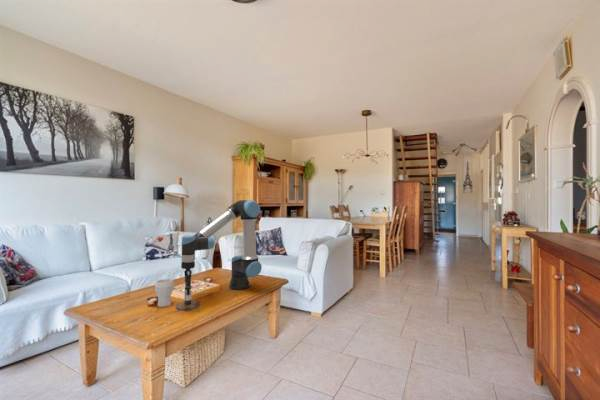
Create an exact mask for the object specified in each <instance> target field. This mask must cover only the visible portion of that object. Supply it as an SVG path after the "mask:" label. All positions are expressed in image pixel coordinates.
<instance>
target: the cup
mask: <svg viewBox="0 0 600 400" xmlns="http://www.w3.org/2000/svg"><path fill="white" fill-rule="evenodd" d="M174 289H175V284H174V279H173V278H172V279H171V278H163V279H162V278H161V279H158V280H156V281H155V284H154V291H155V294H156V295H157V300H158V301H157V307H159V308H160V307H161V308H163V307H164V308H165V307H169V306H171V305H172V300H171V296H172V293H173V291H174Z"/></svg>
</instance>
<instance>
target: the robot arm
mask: <svg viewBox="0 0 600 400" xmlns="http://www.w3.org/2000/svg"><path fill="white" fill-rule="evenodd" d="M260 213H261V206H260V205H259V203H258V202H257V201H256V200H252V199H247V200H246V199H240V200H238V201H237V200H236V202H234V203H232V204H231V205H230V206H228V207H227V208H226V210H225V211H224V212H223V213H221V214H220V215H219V216H218V217H216V218H215V219H213V220H212V221H211V222H210V223H208V224H207V225H206V226H204V227H203V228H201V230H199V231H198V232H197V233H195V234H187V235H183V236H182V237H181V255H180V259H181V265H180V267H181V269H182V270H184V271H183V273H184V293H185V292H186V297H185V296H184V301H188V300H192V291H191V290H192V285H191V284H192V283H191V282H192V281H191V279H192V273H193V272H192V269H194V268H195V266H196V263H195V261H196V251H204V250H211V249H214V247H215V239H214V238H213V237H212V236H214V235H215V234H216V233H217V232H218V231H220V230H221V229H222V228H224V227H225V226H226V225H228V223H230V222H231V221H232V220H236V219H237V218H239V217H240V221H241V222H242V231H243V232H242V235H243V236H242V238H243V239H242V241H243V255H236V256H232V258H231V262H230V263H231V277H230V279H229V280H230V281H229V285H228V289H230V290H235V291H240V290H246V289H249V288H250V287H251V286H250V280H249V278H257V277H258V276H259V275H260V273H261V272H262V269H263V268H262V266H263V265H262V263H261V262H260V261H259V256H258V255H257V245H256V243H257V242H256V241H257V240H256V239H257V238H256V237H257V236H256V221H257V220H258V216H259V214H260Z"/></svg>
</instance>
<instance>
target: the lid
mask: <svg viewBox="0 0 600 400" xmlns="http://www.w3.org/2000/svg"><path fill="white" fill-rule="evenodd" d="M185 297H186V292H185V291H184V298H185ZM198 306H199V307H200V301H199V300H196V299H191V300H188V301H185V300H183V301H179V302H177V303H176V305H175V309H176V311H177V310H183V311H184V312H185V311H191V310H196V309H195V308H197V307H198ZM183 311H182V312H183Z"/></svg>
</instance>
